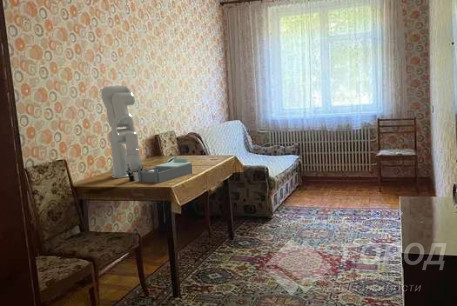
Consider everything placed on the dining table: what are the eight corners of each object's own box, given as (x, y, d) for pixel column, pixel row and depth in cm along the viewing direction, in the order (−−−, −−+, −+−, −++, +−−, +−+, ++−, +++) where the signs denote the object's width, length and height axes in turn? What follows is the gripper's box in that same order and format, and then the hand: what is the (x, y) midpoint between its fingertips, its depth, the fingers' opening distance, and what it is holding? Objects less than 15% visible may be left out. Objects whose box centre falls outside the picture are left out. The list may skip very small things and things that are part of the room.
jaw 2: (148, 179, 268) (147, 170, 268) (153, 178, 272) (152, 169, 271) (155, 179, 266) (154, 171, 265) (159, 178, 269) (158, 169, 268)
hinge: (173, 167, 316) (176, 154, 314) (179, 169, 315) (182, 156, 312) (162, 171, 301) (165, 158, 298) (167, 174, 299) (171, 160, 297)
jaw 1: (129, 182, 270) (128, 173, 269) (134, 180, 273) (133, 172, 273) (136, 182, 267) (135, 173, 267) (140, 181, 271) (139, 172, 270)
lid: (155, 166, 278) (155, 161, 277) (171, 162, 291) (171, 157, 291) (176, 167, 269) (175, 162, 269) (191, 163, 283) (191, 158, 282)
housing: (137, 183, 264) (136, 168, 262) (172, 173, 292) (171, 160, 291) (158, 184, 255) (157, 169, 254) (192, 174, 284) (191, 160, 282)
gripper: (137, 150, 277) (140, 178, 279) (118, 154, 262) (121, 183, 265) (146, 150, 273) (149, 178, 275) (127, 154, 259) (130, 184, 261)
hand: (135, 180), depth 270 cm, fingers open, 5 cm apart
